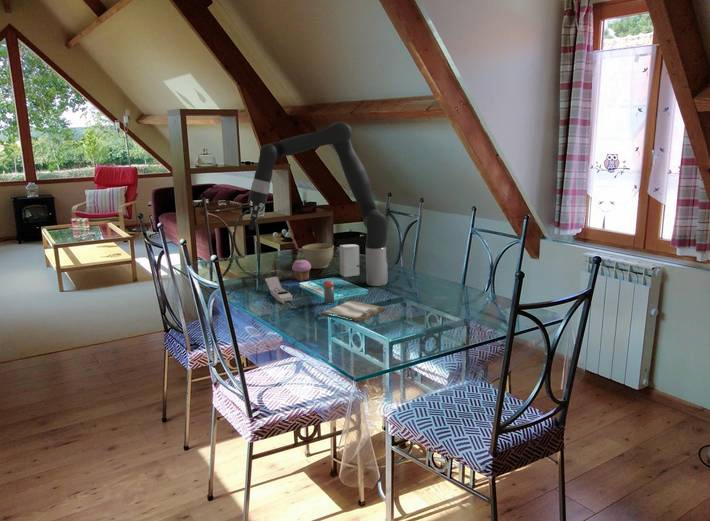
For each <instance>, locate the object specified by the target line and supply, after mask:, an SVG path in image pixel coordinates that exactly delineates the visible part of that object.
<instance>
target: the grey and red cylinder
mask: <svg viewBox="0 0 710 521" xmlns="http://www.w3.org/2000/svg"><path fill="white" fill-rule="evenodd" d="M334 283H335V282H334V281H333V280H325V281H323V293H324V304H325V303H334V304H335V284H334Z"/></svg>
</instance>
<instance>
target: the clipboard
mask: <svg viewBox="0 0 710 521" xmlns="http://www.w3.org/2000/svg"><path fill="white" fill-rule="evenodd" d="M386 310H387V307H386V306H380V305H375V304H369V303H364V302H360V301H355V300H349V301H346V302H344V303H343V302H342V303H341V304H339V305H336V306H334V307H332V308H329V309H327V310H324V311H323V312H321V313H322V314H321V315H323V314H324V316H328V314H332V315H333V314H337V315H338V316H341V317H345V318H348V319H352V320H356V321H359V322H358V323H361V322H364V321H366V320H367V319H370V318H371V317H373V316H376V315H378V314H380V313H382V312H384V311H386ZM360 321H361V322H360Z"/></svg>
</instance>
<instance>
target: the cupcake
mask: <svg viewBox="0 0 710 521" xmlns="http://www.w3.org/2000/svg"><path fill="white" fill-rule="evenodd" d="M291 269H292V271H293V272H294V274H295V278H296V280H297V281H299V282H304V280H305V281H308V280H309V279H310V270H311V269H312V268H311V265H310V263H309V262H308V261H307V260H305V259H298V260H297V259H296V260H295V261H294V262H293V264H292V266H291Z"/></svg>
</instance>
